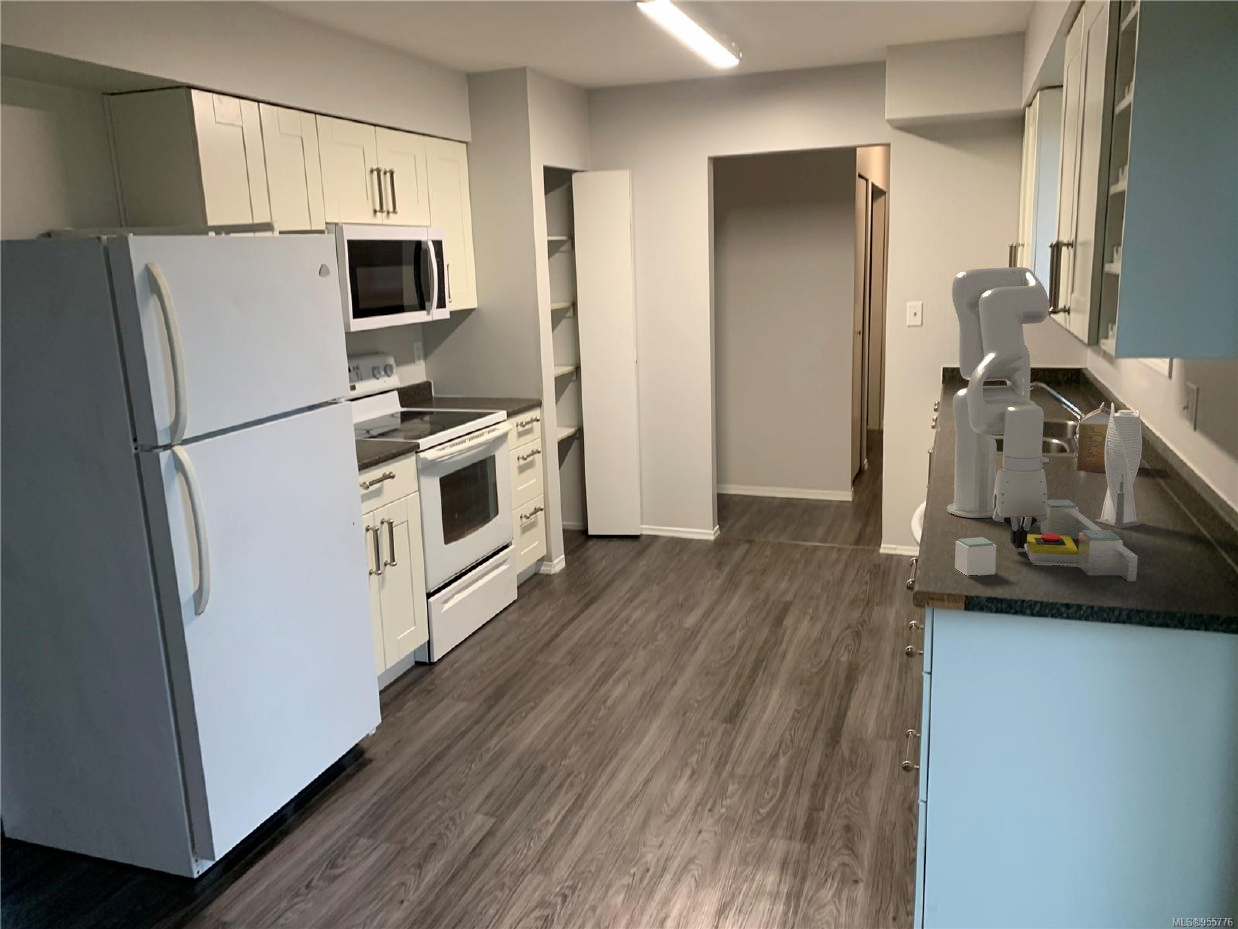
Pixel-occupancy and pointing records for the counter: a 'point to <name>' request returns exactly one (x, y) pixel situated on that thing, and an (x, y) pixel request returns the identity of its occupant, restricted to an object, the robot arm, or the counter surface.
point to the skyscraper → (1121, 468)
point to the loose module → (975, 556)
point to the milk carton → (1093, 440)
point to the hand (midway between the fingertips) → (1018, 546)
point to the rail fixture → (1090, 541)
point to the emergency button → (1051, 549)
